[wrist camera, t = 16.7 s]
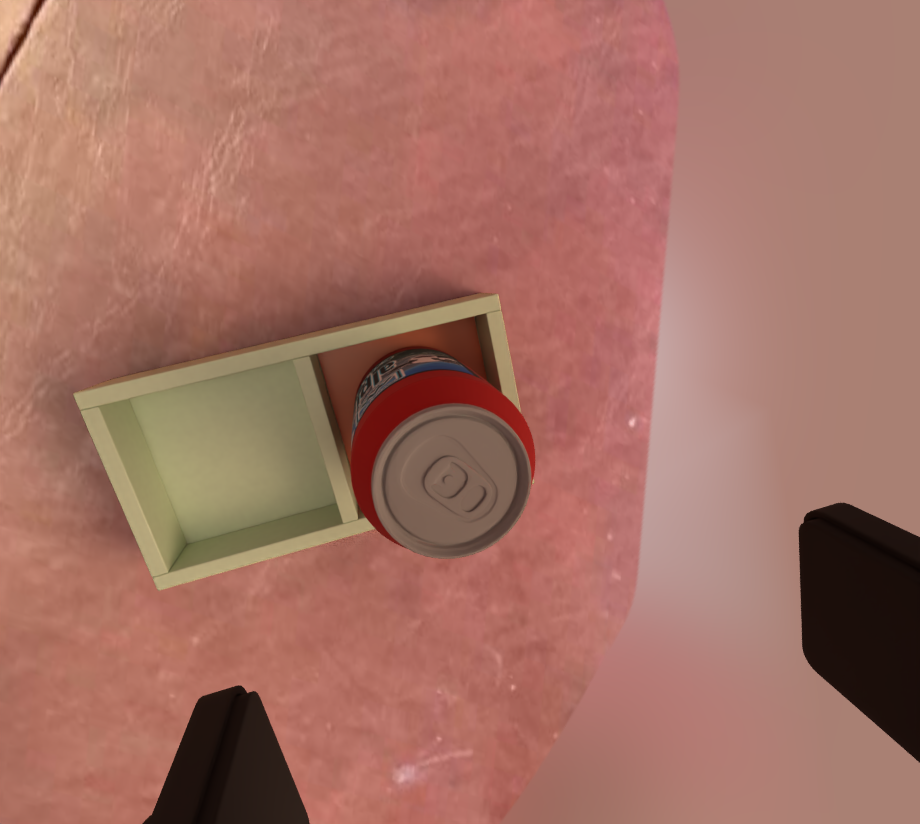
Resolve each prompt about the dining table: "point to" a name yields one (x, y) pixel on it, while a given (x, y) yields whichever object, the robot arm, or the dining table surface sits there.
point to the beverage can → (438, 454)
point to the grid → (263, 436)
